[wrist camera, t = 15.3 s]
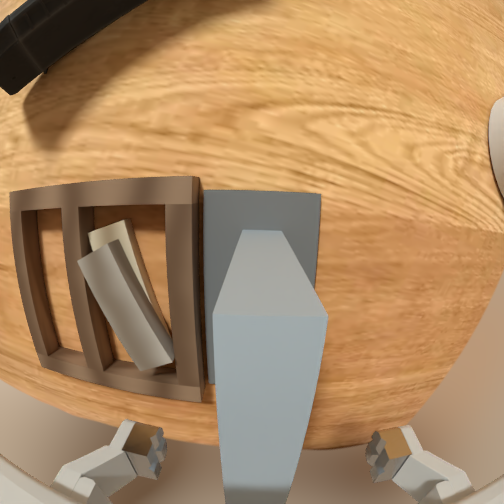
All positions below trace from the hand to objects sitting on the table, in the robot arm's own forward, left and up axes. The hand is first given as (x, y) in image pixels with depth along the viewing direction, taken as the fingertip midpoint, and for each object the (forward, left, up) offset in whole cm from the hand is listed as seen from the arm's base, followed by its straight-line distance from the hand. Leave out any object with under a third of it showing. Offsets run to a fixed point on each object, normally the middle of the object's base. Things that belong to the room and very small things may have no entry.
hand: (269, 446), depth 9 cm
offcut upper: (+11, +1, -14) cm, 18 cm away
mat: (0, 0, -15) cm, 15 cm away
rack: (+15, 0, -15) cm, 22 cm away
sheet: (0, 0, -15) cm, 15 cm away
